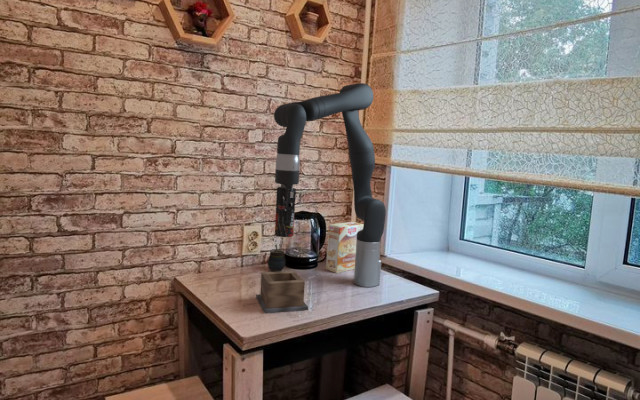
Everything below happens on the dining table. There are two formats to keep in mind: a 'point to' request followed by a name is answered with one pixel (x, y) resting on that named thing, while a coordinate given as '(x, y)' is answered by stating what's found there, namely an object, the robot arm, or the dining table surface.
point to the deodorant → (280, 226)
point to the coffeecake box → (342, 246)
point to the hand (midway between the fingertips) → (284, 220)
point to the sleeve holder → (281, 292)
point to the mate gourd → (276, 260)
